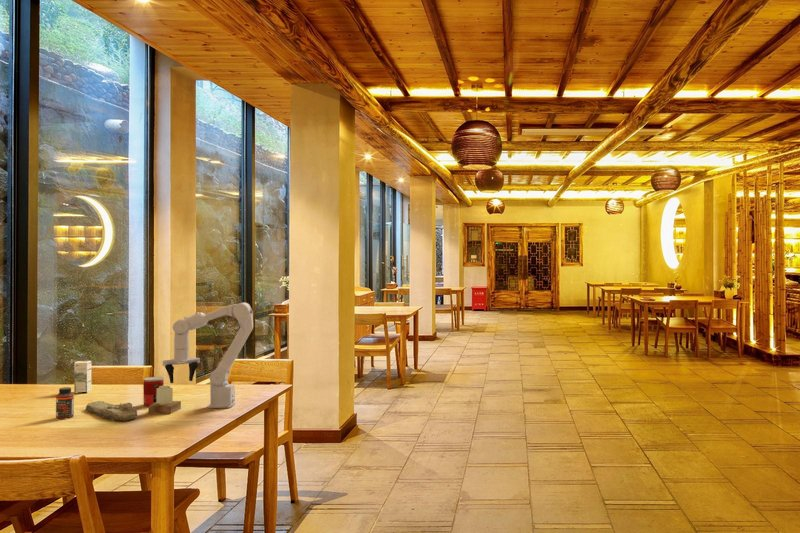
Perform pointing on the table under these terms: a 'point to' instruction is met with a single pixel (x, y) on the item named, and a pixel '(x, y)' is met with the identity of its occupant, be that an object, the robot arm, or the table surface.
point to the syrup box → (82, 376)
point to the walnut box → (164, 408)
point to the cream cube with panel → (164, 395)
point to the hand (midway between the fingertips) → (181, 381)
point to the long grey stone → (113, 410)
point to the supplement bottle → (64, 403)
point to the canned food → (151, 389)
